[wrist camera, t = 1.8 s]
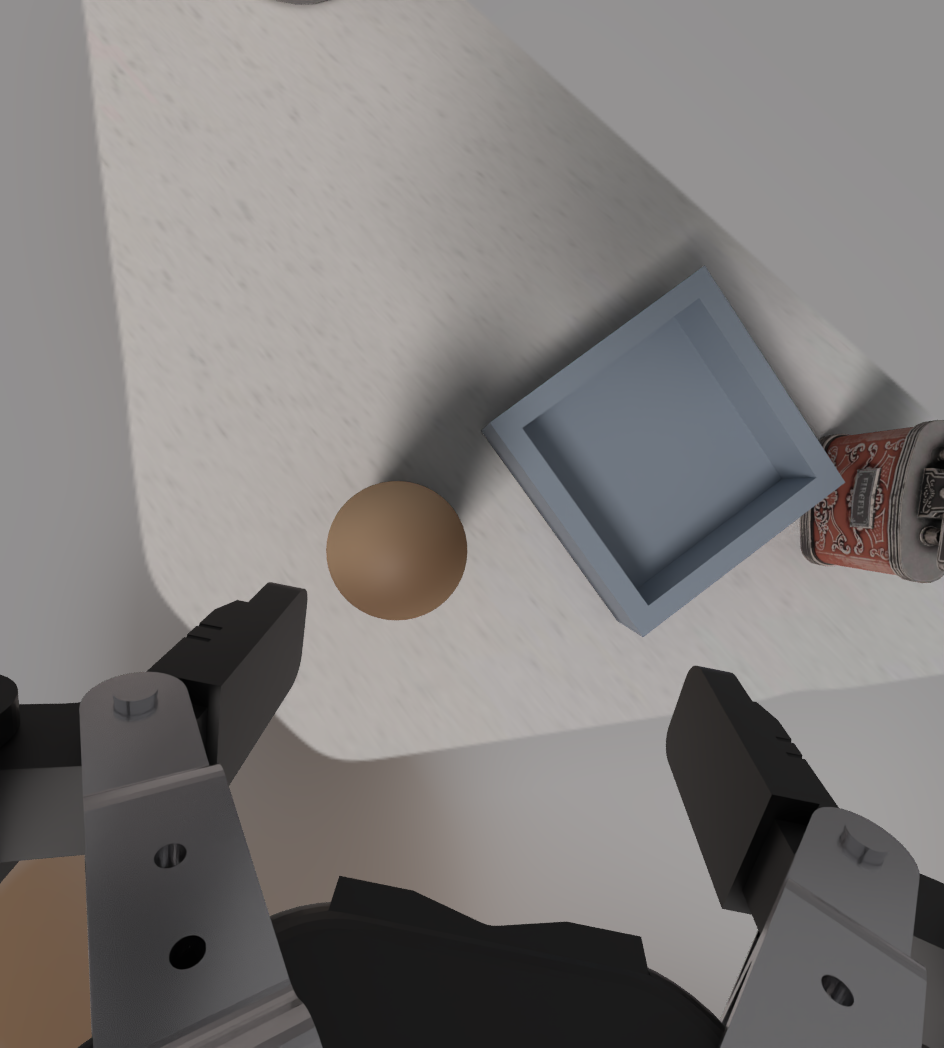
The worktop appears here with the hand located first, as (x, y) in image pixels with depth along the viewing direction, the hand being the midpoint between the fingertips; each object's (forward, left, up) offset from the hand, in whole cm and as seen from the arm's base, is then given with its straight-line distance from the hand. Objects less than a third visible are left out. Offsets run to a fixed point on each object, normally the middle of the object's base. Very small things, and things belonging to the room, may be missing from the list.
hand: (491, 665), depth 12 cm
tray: (+3, +13, -22) cm, 26 cm away
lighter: (+12, +21, -22) cm, 33 cm away
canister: (-2, -1, -22) cm, 22 cm away
